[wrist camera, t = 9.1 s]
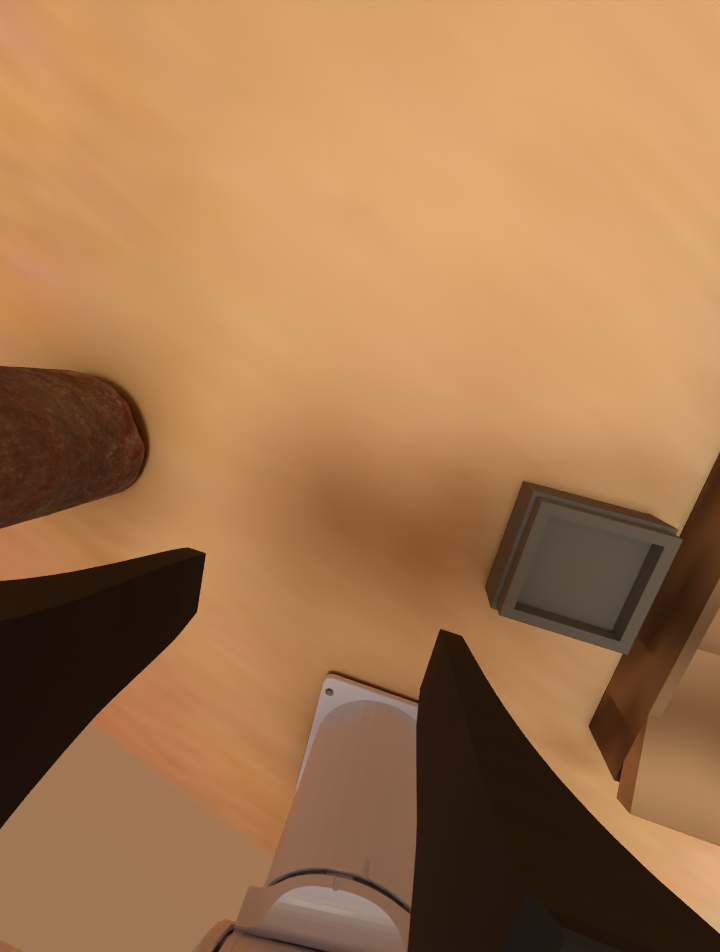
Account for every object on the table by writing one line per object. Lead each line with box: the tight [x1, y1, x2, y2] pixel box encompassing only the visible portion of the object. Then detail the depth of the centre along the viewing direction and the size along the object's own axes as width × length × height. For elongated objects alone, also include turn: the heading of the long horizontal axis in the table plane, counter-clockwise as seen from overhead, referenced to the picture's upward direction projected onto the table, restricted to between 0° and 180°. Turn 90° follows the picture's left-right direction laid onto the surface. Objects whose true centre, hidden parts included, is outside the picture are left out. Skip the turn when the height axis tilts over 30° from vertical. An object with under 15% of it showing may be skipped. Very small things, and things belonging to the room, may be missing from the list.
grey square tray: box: [485, 481, 683, 655], centre depth 18 cm, size 6×6×3 cm
